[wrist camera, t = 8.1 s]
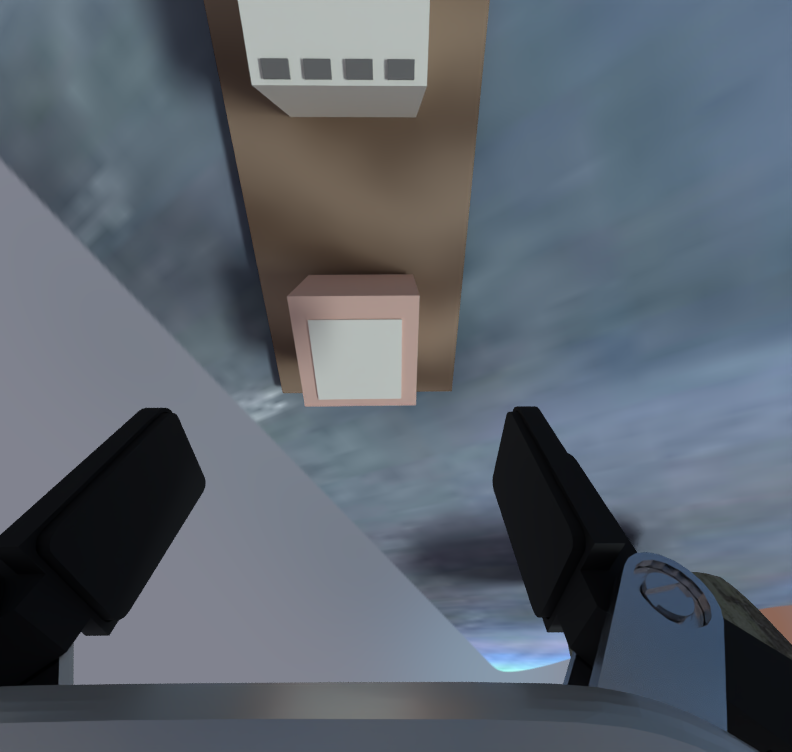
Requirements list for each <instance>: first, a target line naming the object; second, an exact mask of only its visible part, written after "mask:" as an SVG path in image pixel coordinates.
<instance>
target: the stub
mask: <svg viewBox="0 0 792 752" xmlns="http://www.w3.org/2000/svg"><path fill="white" fill-rule="evenodd" d="M419 299H420V295H419V292H418V289H417V286H416V283H415V279H414V276H413V274H381V275H308V276H307V277H306V278H305V279H304V280H303V281H302V282H301V283H300V284H299V285H298V286H297V287H296V288H295V289H294V290H293V291H292V292H291V293H290V294H289V295H288V296H287V300H288V306H289V312H290V318H291V324H292V330H293V336H294V342H295V348H296V354H297V360H298V366H299V372H300V378H301V384H302V390H303V397H304V403H305V407H308V406H387V405H416V385H417V357H418V328H419Z"/></svg>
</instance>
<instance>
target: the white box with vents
mask: <svg viewBox="0 0 792 752" xmlns="http://www.w3.org/2000/svg"><path fill="white" fill-rule="evenodd" d="M238 5H239V11H240V17H241V23H242V29H243V35H244V41H245V47H246V53H247V59H248V65H249V71H250V77H251V83H252V86H253V87H255V88H256V89H257V90H258V91H260V92H261V93H262V94H263V95H264V96H266V97H267V98H268V99H269V100H271V101H272V102H273V103H274V104H275V105H277V106H278V107H279V108H280V109H282V110H283V111H284V112H285V113H286V114H288V115H289V116H290V117H416V116H417V113H418V110H419V107H420V104H421V102H422V99H423V96H424V93H425V90H426V87H427V70H428V41H429V13H430V0H238Z"/></svg>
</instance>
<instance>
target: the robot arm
mask: <svg viewBox="0 0 792 752" xmlns="http://www.w3.org/2000/svg"><path fill="white" fill-rule="evenodd" d="M204 488H205V477H204V475H203V473H202V471H201V468H200V466H199V464H198V461H197V459H196V457H195V454H194V452H193V450H192V448H191V445H190V443H189V441H188V438H187V436H186V434H185V432H184V429H183V427H182V425H181V422H180V420H179V418H178V416H177V415H176V414H175V413H172V411H171V410H169V409H168V408H144V409H141V410H140V411H138V412H137V413H136V414H135V415H134V416H133V417H132V418H131V419H129V420H128V421H127V422H126V423H125V424H124V425H123V426H122V427H121V428H120V429H118V430H117V431H116V432H115V433H114V434H113V435H112V436H110V437H109V438H108V439H107V440H106V441H105V442H104V443H103V444H102V445H100V447H98V448H97V449H96V450H95V451H94V452H93V453H91V454H90V455H89V456H88V457H87V458H86V459H85V460H84V461H82V462H81V463H80V464H79V465H78V466H77V467H76V468H75V469H74V470H72V471H71V472H70V473H69V474H68V475H67V476H66V477H65V478H63V479H62V480H61V481H60V482H59V483H58V484H57V485H56V486H55V487H53V488H52V489H51V490H50V491H49V492H48V493H47V494H46V495H44V496H43V497H42V498H41V499H40V500H39V501H38V502H37V503H35V504H34V505H33V506H32V507H31V508H30V509H29V510H28V511H27V512H25V513H24V514H23V515H22V516H21V517H20V518H19V519H18V520H16V521H15V522H14V523H13V524H12V525H11V526H10V527H9V528H7V530H5V531H4V532H3V533H2V534H1V535H0V752H792V660H791V659H790V658H788V657H786V656H785V655H783V654H782V653H780V652H778V651H777V650H775V649H773V648H772V647H770V646H769V645H767V644H765V643H764V642H762V641H760V640H759V639H757V638H756V637H754V636H752V635H751V634H749V633H747V632H746V631H744V630H742V629H741V628H739V627H738V626H736V625H734V624H733V623H731V622H729V621H728V620H726V619H725V618H723V616H722V612H721V608H720V606H719V604H718V602H717V601H716V599H715V597H714V595H713V594H712V593H711V591H710V590H709V589H708V588H707V587H706V586H705V584H704V583H703V582H702V581H701V580H700V579H699V578H697V577H696V576H695V575H694V574H693V573H692V572H690V571H689V570H688V569H687V568H685V567H683V566H682V565H680V564H679V563H677V562H675V561H674V560H671V559H669V558H667V557H664V556H662V555H659V554H654V553H649V552H643V553H637V552H636V550H635V549H634V547H633V545H632V544H631V542H630V541H629V539H628V538H627V536H626V535H625V533H624V532H623V530H622V529H621V527H620V526H619V524H618V523H617V521H616V520H615V518H614V517H613V515H612V514H611V512H610V511H609V509H608V508H607V506H606V504H605V503H604V501H603V500H602V498H601V497H600V495H599V494H598V492H597V491H596V489H595V488H594V486H593V485H592V483H591V482H590V480H589V479H588V477H587V476H586V474H585V473H584V471H583V470H582V468H581V467H580V465H579V464H578V462H577V460H576V459H575V458H574V457H573V456H572V455H570V454H568V453H567V452H566V450H565V448H564V447H563V445H562V444H561V442H560V441H559V439H558V438H557V436H556V434H555V433H554V431H553V430H552V428H551V427H550V425H549V424H548V422H547V420H546V419H545V417H544V416H543V414H542V413H541V411H540V410H539V408H538V407H535V406H534V407H515V408H514V409H513V412H508V413H507V415H506V420H505V424H504V429H503V433H502V438H501V442H500V447H499V451H498V456H497V461H496V465H495V470H494V474H493V489H494V492H495V495H496V498H497V502H498V505H499V508H500V511H501V514H502V517H503V520H504V523H505V526H506V529H507V532H508V535H509V538H510V541H511V544H512V548H513V551H514V554H515V557H516V560H517V563H518V566H519V569H520V572H521V575H522V578H523V581H524V584H525V587H526V591H527V594H528V597H529V600H530V603H531V606H532V609H533V611H534V613H535V615H536V616H537V617H542V618H543V621H544V624H545V627H546V630H547V632H564V634H565V637H566V640H567V642H568V645H569V648H570V649H571V650H572V651H573V652H572V655H571V659H570V662H569V666H568V669H567V673H566V676H565V680H564V683H563V684H545V683H543V684H542V683H541V684H540V683H489V682H323V683H321V682H319V683H194V684H193V683H192V684H191V683H189V684H109V685H108V684H105V685H73V646H74V645H73V642H74V641H75V639H76V638H77V637H78V635H79V634H80V632H82V633H83V634H84V635H86V636H92V635H93V636H96V635H97V636H98V635H100V636H101V635H110V633H111V632H112V630H113V629H114V627H115V625H116V624H117V622H118V621H119V620H120V619H122V618H124V617H125V616H126V615H127V613H128V612H129V611H130V609H131V608H132V606H133V604H134V602H135V601H136V599H137V598H138V596H139V594H140V593H141V592H142V590H143V588H144V587H145V585H146V583H147V582H148V580H149V579H150V577H151V575H152V574H153V572H154V570H155V569H156V567H157V566H158V564H159V562H160V561H161V559H162V557H163V556H164V554H165V553H166V551H167V549H168V548H169V546H170V545H171V543H172V541H173V540H174V538H175V537H176V535H177V533H178V532H179V530H180V528H181V527H182V525H183V524H184V522H185V520H186V519H187V517H188V515H189V514H190V512H191V511H192V509H193V507H194V506H195V504H196V503H197V501H198V499H199V498H200V496H201V494H202V493H203V491H204Z"/></svg>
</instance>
